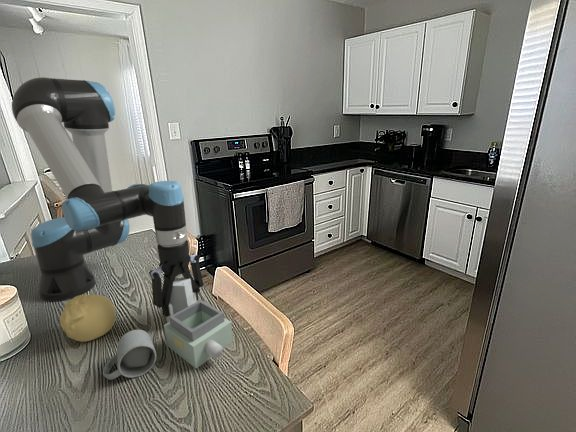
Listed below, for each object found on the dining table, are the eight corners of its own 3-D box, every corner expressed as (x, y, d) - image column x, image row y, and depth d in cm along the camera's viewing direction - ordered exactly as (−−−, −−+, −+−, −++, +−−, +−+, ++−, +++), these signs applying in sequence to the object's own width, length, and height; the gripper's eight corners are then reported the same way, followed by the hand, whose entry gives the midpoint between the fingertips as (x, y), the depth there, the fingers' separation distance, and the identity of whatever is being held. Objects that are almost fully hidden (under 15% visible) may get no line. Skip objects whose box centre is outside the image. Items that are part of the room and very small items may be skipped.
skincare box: (196, 314, 88) (192, 277, 84) (190, 324, 84) (185, 285, 80) (175, 313, 89) (170, 276, 85) (168, 323, 84) (162, 284, 81)
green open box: (166, 345, 76) (161, 316, 74) (203, 323, 84) (200, 296, 82) (203, 375, 67) (199, 344, 65) (241, 347, 76) (239, 317, 73)
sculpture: (65, 329, 83) (56, 294, 79) (115, 313, 89) (109, 281, 85) (64, 355, 73) (53, 317, 70) (120, 336, 80) (112, 300, 76)
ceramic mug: (152, 347, 76) (147, 321, 73) (159, 368, 69) (153, 340, 67) (103, 365, 70) (95, 338, 68) (105, 391, 64) (97, 361, 61)
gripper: (143, 259, 69) (157, 342, 77) (212, 234, 84) (219, 306, 91) (127, 250, 74) (142, 330, 81) (195, 228, 88) (203, 297, 96)
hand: (182, 317), depth 86 cm, fingers closed on skincare box, 7 cm apart
